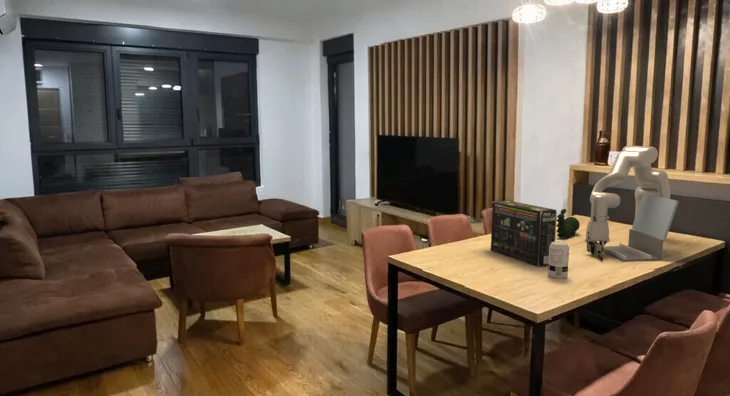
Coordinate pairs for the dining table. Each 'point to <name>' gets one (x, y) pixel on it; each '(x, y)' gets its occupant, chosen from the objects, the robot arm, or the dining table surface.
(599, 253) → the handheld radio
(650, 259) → the grey sloped stand
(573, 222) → the toy figurine
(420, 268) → the dining table surface
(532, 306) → the dining table surface
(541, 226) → the router box
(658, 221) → the cover
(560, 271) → the supplement can
